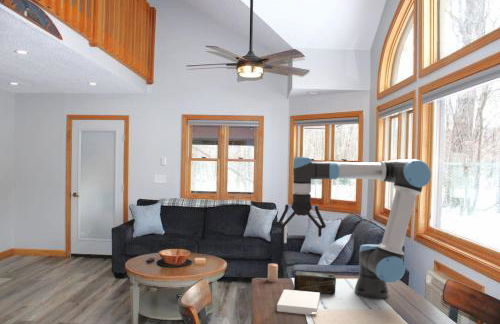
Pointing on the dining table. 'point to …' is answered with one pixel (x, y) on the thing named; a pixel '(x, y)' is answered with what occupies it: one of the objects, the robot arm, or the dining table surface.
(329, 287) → the beverage carton
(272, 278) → the peach rounded cylinder
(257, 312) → the dining table surface
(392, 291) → the dining table surface
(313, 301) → the white flat slab
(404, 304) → the dining table surface
